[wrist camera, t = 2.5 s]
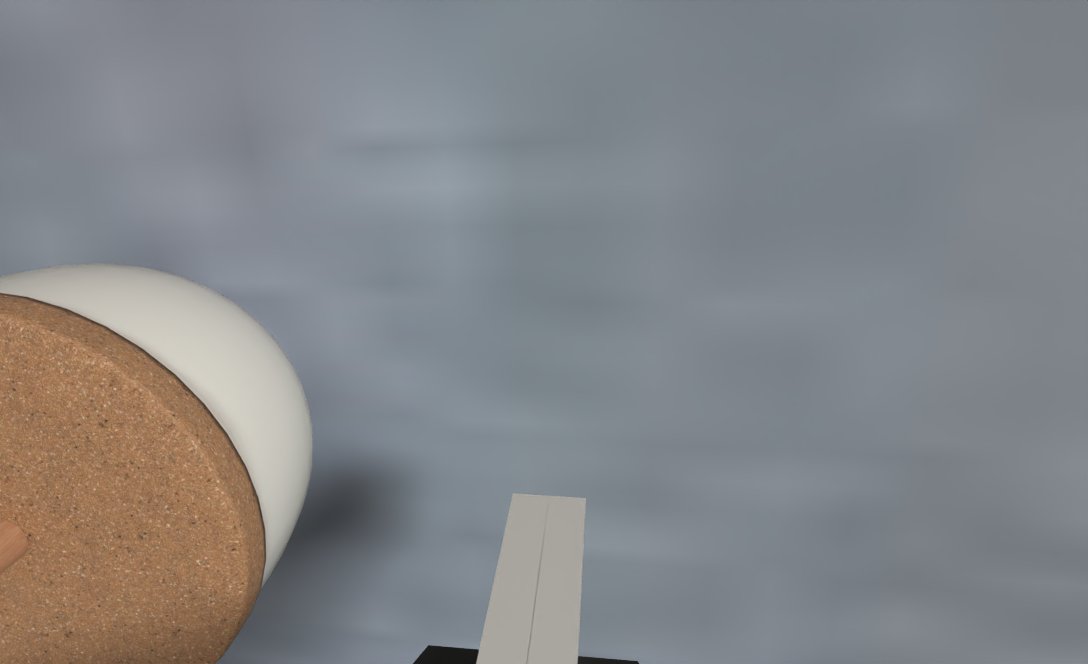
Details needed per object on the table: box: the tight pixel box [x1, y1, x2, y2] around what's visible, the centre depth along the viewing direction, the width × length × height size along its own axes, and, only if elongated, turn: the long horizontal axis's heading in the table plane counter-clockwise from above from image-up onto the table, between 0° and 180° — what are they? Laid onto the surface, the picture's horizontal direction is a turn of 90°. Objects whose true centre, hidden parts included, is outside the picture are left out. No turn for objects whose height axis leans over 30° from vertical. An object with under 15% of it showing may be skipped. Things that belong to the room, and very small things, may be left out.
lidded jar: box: [0, 264, 313, 664], centre depth 18 cm, size 11×11×9 cm
